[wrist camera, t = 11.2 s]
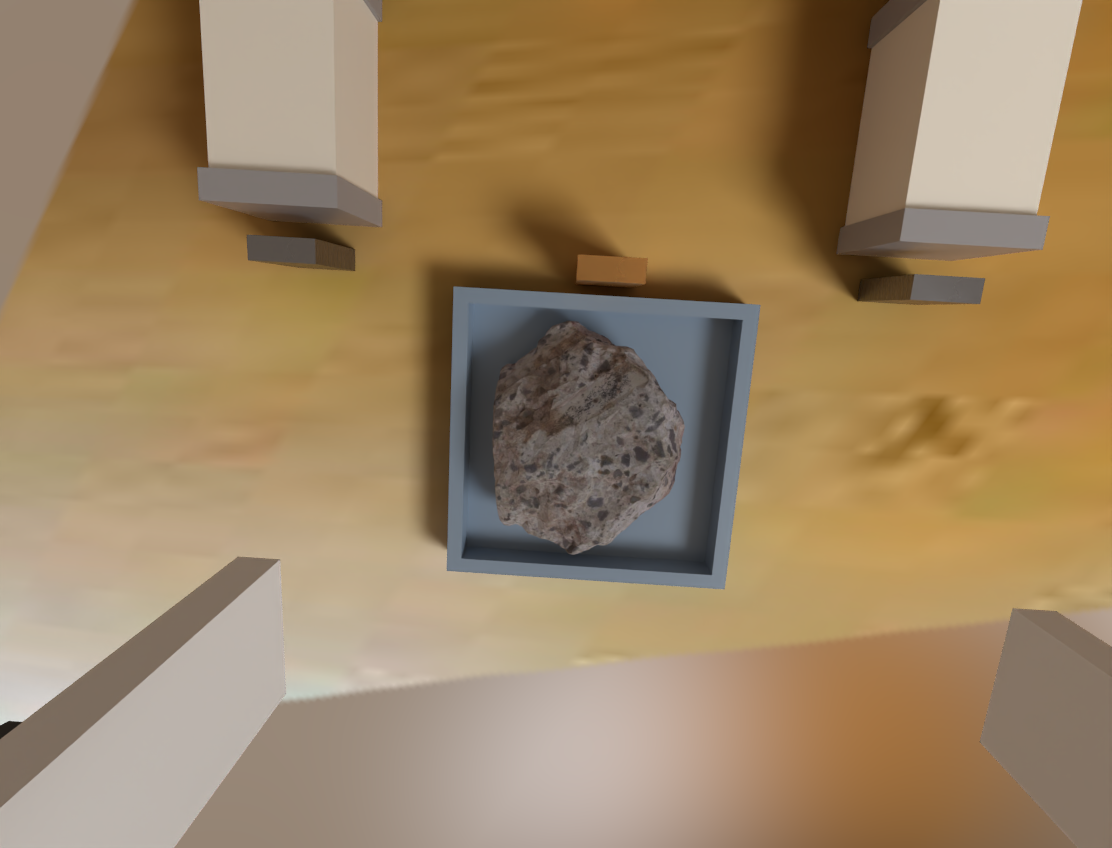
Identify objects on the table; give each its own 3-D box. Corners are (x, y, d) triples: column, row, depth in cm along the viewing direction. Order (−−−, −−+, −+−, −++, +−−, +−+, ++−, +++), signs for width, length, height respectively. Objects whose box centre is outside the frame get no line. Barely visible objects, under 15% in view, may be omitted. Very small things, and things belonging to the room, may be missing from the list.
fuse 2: (871, 17, 25) (950, -59, 20) (995, 24, 25) (1107, -51, 20) (836, 254, 27) (899, 241, 22) (951, 260, 27) (1042, 249, 22)
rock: (506, 534, 30) (496, 569, 26) (495, 322, 28) (483, 324, 24) (678, 530, 30) (695, 565, 26) (680, 316, 28) (700, 317, 24)
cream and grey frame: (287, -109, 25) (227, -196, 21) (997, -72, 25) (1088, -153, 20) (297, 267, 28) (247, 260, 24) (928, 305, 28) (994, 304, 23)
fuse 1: (261, -15, 26) (181, -99, 20) (382, -9, 26) (333, -91, 20) (270, 220, 28) (198, 199, 22) (382, 227, 28) (337, 208, 22)
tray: (461, 287, 28) (453, 286, 26) (747, 305, 28) (760, 304, 26) (454, 554, 31) (446, 570, 29) (714, 571, 31) (724, 589, 29)
